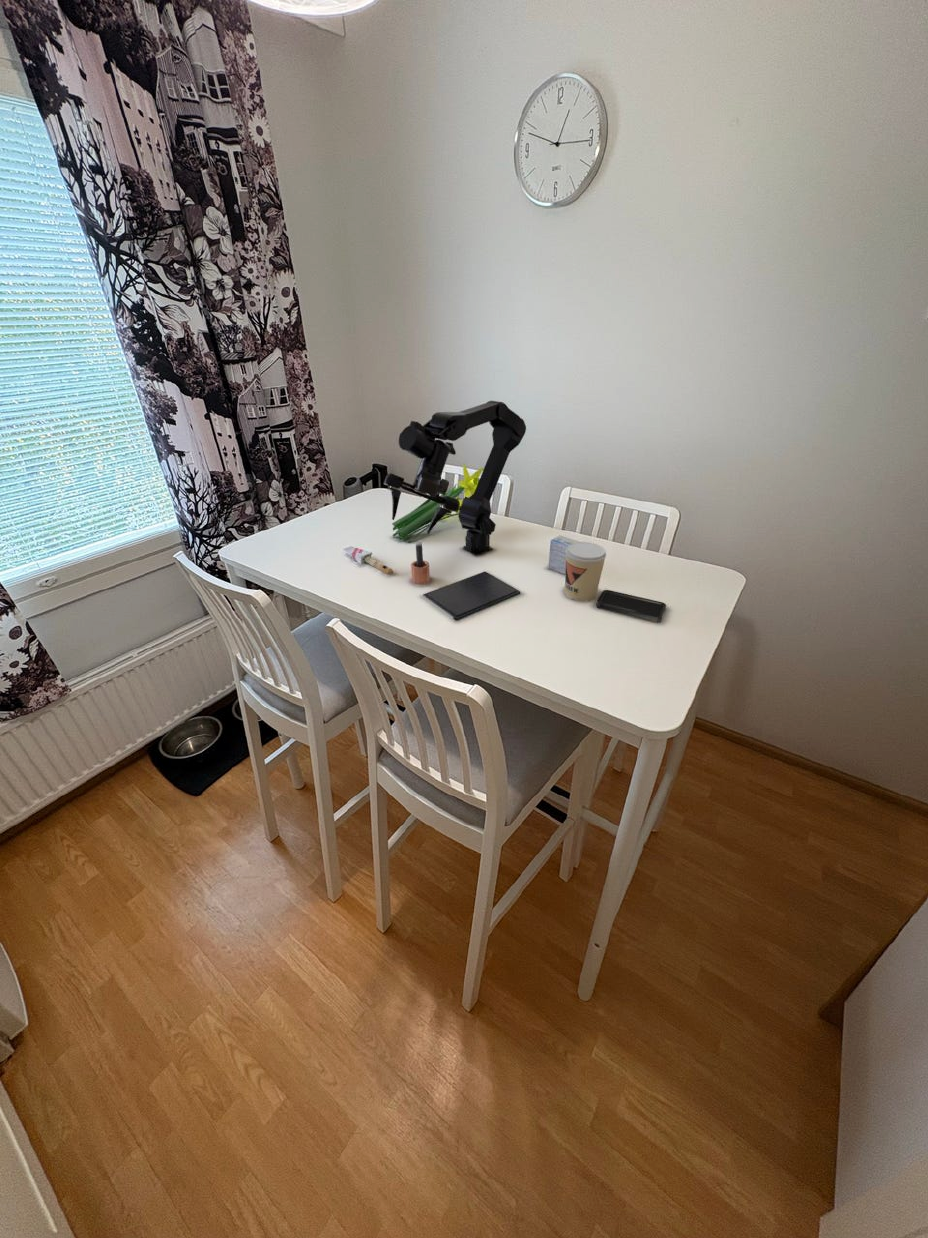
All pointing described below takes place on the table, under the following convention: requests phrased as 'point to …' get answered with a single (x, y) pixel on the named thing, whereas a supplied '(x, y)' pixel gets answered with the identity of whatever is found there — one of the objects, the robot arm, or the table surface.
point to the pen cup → (420, 573)
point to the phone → (631, 605)
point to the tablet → (471, 595)
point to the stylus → (419, 554)
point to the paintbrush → (366, 558)
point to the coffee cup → (583, 570)
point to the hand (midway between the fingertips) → (410, 526)
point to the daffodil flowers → (434, 508)
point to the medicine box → (559, 553)
